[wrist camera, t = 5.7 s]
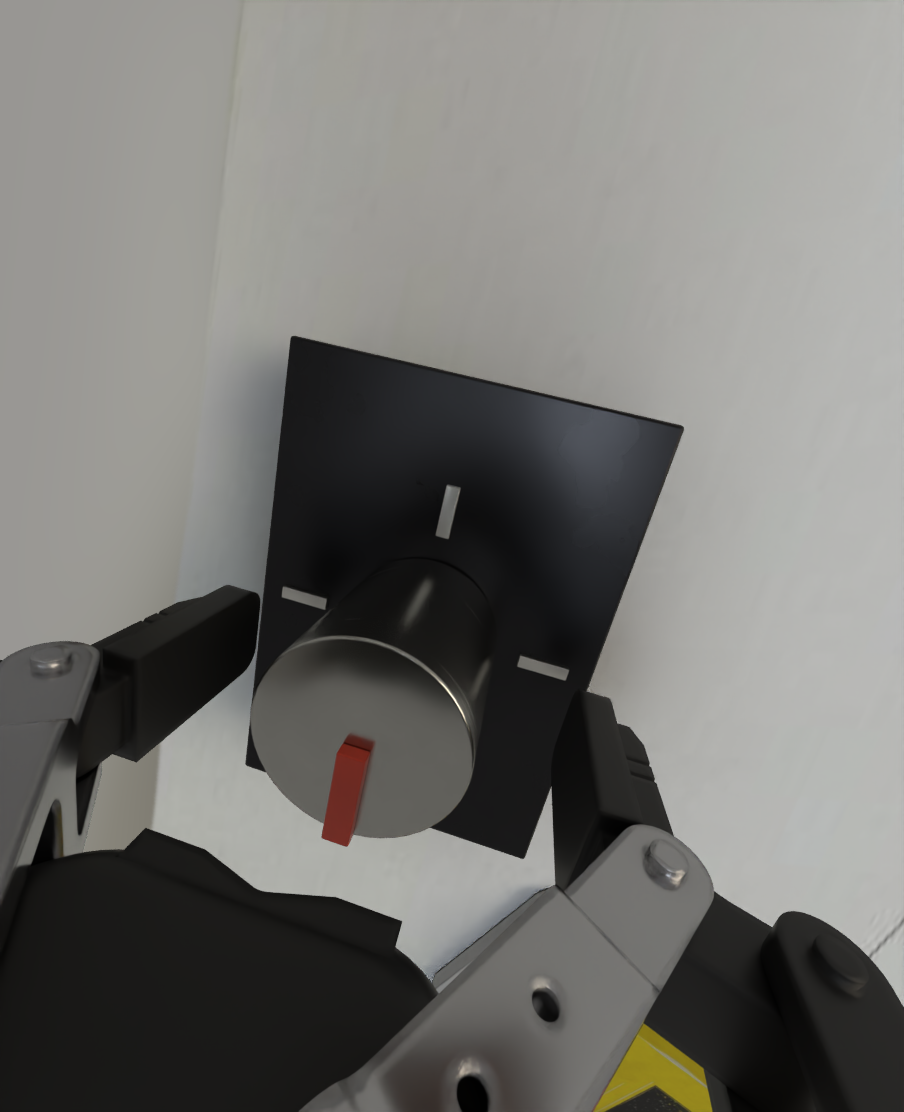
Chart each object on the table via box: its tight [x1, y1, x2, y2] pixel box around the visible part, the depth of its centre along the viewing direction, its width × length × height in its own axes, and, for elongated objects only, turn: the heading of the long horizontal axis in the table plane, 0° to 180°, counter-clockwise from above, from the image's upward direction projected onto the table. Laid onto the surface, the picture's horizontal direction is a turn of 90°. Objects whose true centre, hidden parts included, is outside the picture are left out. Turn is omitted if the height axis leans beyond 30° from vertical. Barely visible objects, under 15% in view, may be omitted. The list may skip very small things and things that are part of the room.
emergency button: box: [432, 890, 713, 1112], centre depth 18 cm, size 9×4×15 cm
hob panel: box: [246, 336, 684, 859], centre depth 15 cm, size 14×10×3 cm
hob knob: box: [250, 558, 497, 847], centre depth 11 cm, size 4×4×5 cm
